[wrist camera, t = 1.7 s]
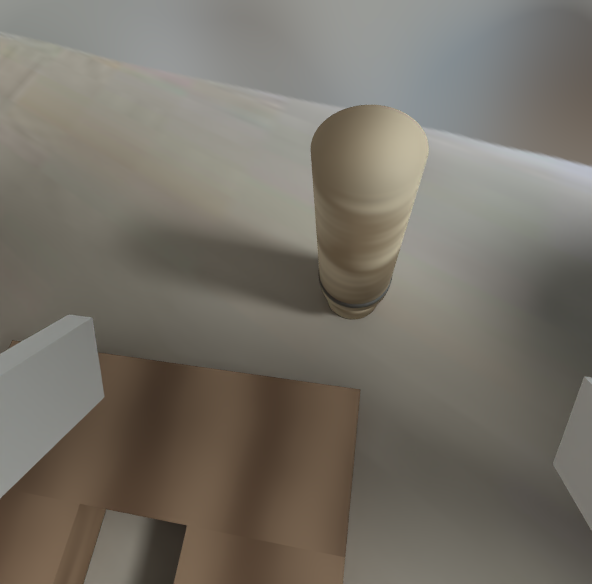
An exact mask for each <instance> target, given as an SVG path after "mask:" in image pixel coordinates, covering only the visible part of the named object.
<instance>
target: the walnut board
mask: <svg viewBox="0 0 592 584" xmlns="http://www.w3.org/2000/svg"><path fill="white" fill-rule="evenodd" d="M20 342H21V341H14V340H12V342H11V344H10V347H9V348H11V347H13V346H15V345H16V344H18V343H20ZM98 357H99V364H100V370H101V377H102V384H103V390H104V398H103V399H102V400H101V401H100V402H99V403H98V404H97V405H96V406H95V407H94V408H93V409H92V410H91V411H90V412H89V413H88V414H87V415H86V416H85V417H84V418H83V419H82V420H80V421H79V422H78V423H77V424H76V425H75V426H74V427H73V428H72V429H71V430H70V431H69V432H68V433H67V434H66V435H65V436H64V437H63V438H62V439H61V440H60V441H59V442H58V443H57V444H56V445H55V446H54V447H53V448H52V449H51V450H50V451H49V452H48V453H46V454H45V455H44V456H43V457H42V458H41V459H40V460H39V461H38V462H37V463H36V464H35V465H34V466H33V467H32V468H31V469H30V470H29V471H28V472H27V473H26V474H25V475H24V476H23V477H22V478H21V479H20V480H19V481H18V482H17V483H16V484H15V485H14V486H12V487H11V488H10V489H9V490H8V491H7V492H6V493H5V494H4V495H3V496H2V497H1V498H0V584H83V583H84V580H85V577H86V573H87V570H88V567H89V564H90V560H91V557H92V554H93V551H94V547H95V544H96V541H97V537H98V534H99V531H100V528H101V524H102V521H103V518H104V515H105V511H106V509H108V510H113V511H118V512H123V513H128V514H133V515H138V516H143V517H148V518H153V519H158V520H163V521H168V522H173V523H178V524H183V525H187V528H186V532H185V536H184V541H183V545H182V549H181V554H180V558H179V562H178V567H177V571H176V575H175V580H174V584H343V575H344V564H345V553H346V542H347V531H348V520H349V509H350V498H351V487H352V476H353V465H354V454H355V443H356V433H357V422H358V411H359V400H360V389H353V388H346V387H339V386H332V385H325V384H318V383H310V382H303V381H296V380H289V379H282V378H275V377H268V376H261V375H254V374H247V373H240V372H233V371H226V370H219V369H211V368H204V367H197V366H190V365H183V364H176V363H169V362H162V361H155V360H148V359H141V358H134V357H127V356H120V355H113V354H105V353H98Z"/></svg>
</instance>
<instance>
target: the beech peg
mask: <svg viewBox="0 0 592 584" xmlns="http://www.w3.org/2000/svg"><path fill="white" fill-rule="evenodd" d="M428 152H429V146H428V140H427V137H426V135H425V132H424V131H423V129H422V128H421V126H420V125H419V124H418V123H417V122H416V121H415V120H414V119H413V118H411V117H410V116H408V115H407V114H405V113H403V112H401V111H399V110H396V109H394V108H390V107H386V106H381V105H361V106H354V107H350V108H347V109H344V110H341V111H339V112H337V113H335V114H333V115H332V116H330V117H329V118H327V119H326V120H325V121H324V122H323V123H322V124H321V125H320V126H319V127H318V129H317V131H316V132H315V134H314V136H313V139H312V143H311V161H312V175H313V189H314V203H315V217H316V231H317V245H318V260H319V281H320V285H321V289H322V292H323V294H324V295H325V297H326V298H327V301H328V304H329V306H330V308H331V309H332V310H333V311H334V312H335V313H336V314H337V315H339V316H341V317H343V318H346V319H360V318H363V317H365V316H367V315H369V314H370V313H371V312H372V311H373V310H374V309H375V307H376V305H377V304H378V303H379V302H380V301H381V300H382V299H383V298H384V296H385V295H386V293H387V291H388V289H389V287H390V283H391V280H392V274H393V270H394V267H395V264H396V261H397V257H398V254H399V251H400V247H401V244H402V241H403V237H404V234H405V231H406V227H407V224H408V221H409V217H410V214H411V211H412V207H413V204H414V201H415V198H416V194H417V191H418V188H419V184H420V181H421V178H422V174H423V171H424V168H425V164H426V161H427V158H428Z"/></svg>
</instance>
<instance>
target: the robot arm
mask: <svg viewBox="0 0 592 584" xmlns="http://www.w3.org/2000/svg"><path fill="white" fill-rule="evenodd" d="M103 398H104V390H103V384H102V377H101V370H100V364H99V357H98V350H97V344H96V337H95V331H94V324H93V317H85V316H77V315H69V314H68V315H67V316H65V317H63V318H62V319H60V320H58V321H56V322H55V323H53V324H51V325H49V326H48V327H46V328H44V329H42V330H41V331H39V332H37V333H35V334H34V335H32V336H30V337H28V338H27V339H25V340H23V341H21V342H20V343H18V344H16V345H15V346H13V347H11V348H9V349H8V350H6V351H4V352H2V353H1V354H0V498H1V497H2V496H3V495H4V494H5V493H6V492H7V491H8V490H9V489H10V488H11V487H12V486H14V485H15V484H16V483H17V482H18V481H19V480H20V479H21V478H22V477H23V476H24V475H25V474H26V473H27V472H28V471H29V470H30V469H31V468H32V467H33V466H34V465H35V464H36V463H37V462H38V461H39V460H40V459H41V458H42V457H43V456H44V455H45V454H46V453H48V452H49V451H50V450H51V449H52V448H53V447H54V446H55V445H56V444H57V443H58V442H59V441H60V440H61V439H62V438H63V437H64V436H65V435H66V434H67V433H68V432H69V431H70V430H71V429H72V428H73V427H74V426H75V425H76V424H77V423H78V422H79V421H80V420H82V419H83V418H84V417H85V416H86V415H87V414H88V413H89V412H90V411H91V410H92V409H93V408H94V407H95V406H96V405H97V404H98V403H99V402H100V401H101V400H102V399H103ZM553 466H554V467H555V469H556V471H557V472H558V474H559V476H560V478H561V479H562V481H563V483H564V484H565V486H566V488H567V490H568V491H569V493H570V495H571V496H572V498H573V500H574V501H575V503H576V505H577V507H578V508H579V510H580V512H581V513H582V515H583V517H584V519H585V520H586V522H587V524H588V525H589V527H590V529H591V531H592V377H584V378H583V381H582V384H581V386H580V389H579V392H578V395H577V398H576V400H575V403H574V406H573V409H572V412H571V414H570V417H569V420H568V423H567V425H566V428H565V431H564V434H563V437H562V439H561V442H560V445H559V448H558V450H557V453H556V456H555V459H554V462H553Z"/></svg>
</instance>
